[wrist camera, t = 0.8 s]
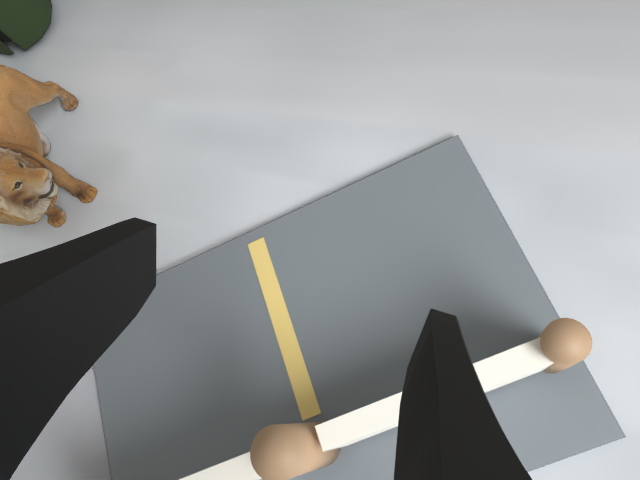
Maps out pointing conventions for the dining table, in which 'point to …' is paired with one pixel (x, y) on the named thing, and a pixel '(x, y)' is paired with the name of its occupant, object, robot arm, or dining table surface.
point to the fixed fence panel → (275, 455)
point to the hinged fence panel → (501, 369)
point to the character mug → (23, 22)
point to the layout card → (338, 329)
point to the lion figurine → (31, 154)
